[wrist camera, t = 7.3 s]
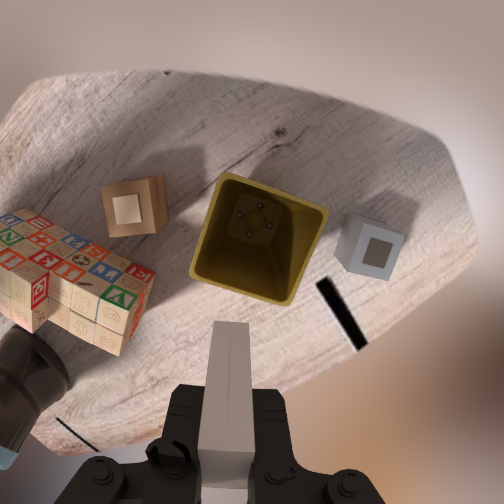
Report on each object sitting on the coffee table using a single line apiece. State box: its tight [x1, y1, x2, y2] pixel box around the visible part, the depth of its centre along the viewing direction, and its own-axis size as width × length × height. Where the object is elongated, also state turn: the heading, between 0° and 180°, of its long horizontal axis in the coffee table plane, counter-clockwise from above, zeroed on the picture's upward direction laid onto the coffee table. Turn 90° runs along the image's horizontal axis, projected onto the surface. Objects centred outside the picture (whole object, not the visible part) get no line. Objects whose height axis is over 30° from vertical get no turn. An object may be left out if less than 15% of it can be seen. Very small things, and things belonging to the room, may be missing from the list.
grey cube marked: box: [334, 212, 405, 281], centre depth 29 cm, size 5×5×5 cm
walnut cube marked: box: [101, 175, 169, 238], centre depth 27 cm, size 5×5×5 cm
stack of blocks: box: [0, 208, 156, 356], centre depth 26 cm, size 21×6×12 cm, turn 66°
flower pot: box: [189, 172, 329, 306], centre depth 26 cm, size 9×9×9 cm
